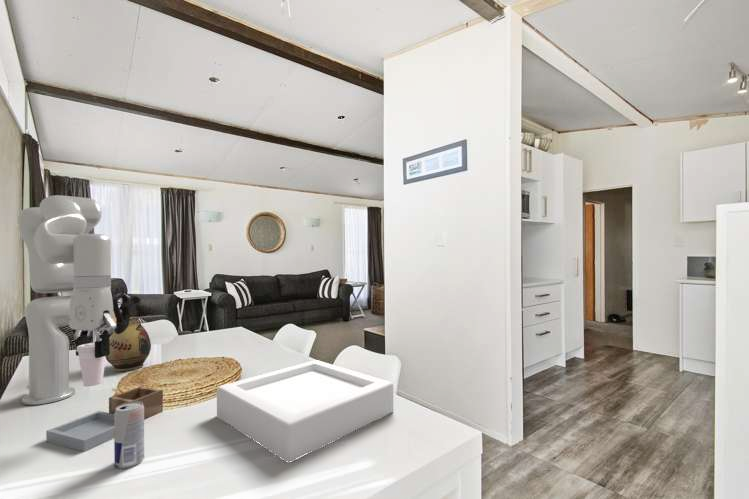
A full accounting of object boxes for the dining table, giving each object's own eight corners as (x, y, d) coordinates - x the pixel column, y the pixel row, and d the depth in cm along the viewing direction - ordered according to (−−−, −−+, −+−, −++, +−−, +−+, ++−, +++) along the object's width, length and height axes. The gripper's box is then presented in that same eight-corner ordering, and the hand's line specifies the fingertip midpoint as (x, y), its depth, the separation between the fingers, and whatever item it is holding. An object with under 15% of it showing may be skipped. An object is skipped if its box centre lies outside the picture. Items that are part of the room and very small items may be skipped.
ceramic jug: (126, 362, 155) (126, 290, 156) (159, 363, 153) (159, 290, 154) (89, 375, 139) (89, 295, 139) (126, 376, 136) (126, 295, 137)
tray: (215, 418, 102) (215, 386, 102) (316, 384, 128) (316, 359, 128) (288, 466, 78) (288, 424, 78) (394, 413, 104) (394, 382, 104)
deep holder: (108, 419, 100) (108, 397, 100) (140, 407, 109) (140, 386, 109) (132, 425, 97) (132, 402, 97) (162, 411, 105) (162, 390, 106)
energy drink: (123, 456, 82) (123, 401, 82) (149, 454, 82) (149, 400, 82) (108, 470, 77) (108, 412, 77) (135, 468, 77) (135, 410, 77)
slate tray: (46, 441, 89) (46, 430, 89) (98, 420, 100) (98, 410, 100) (84, 451, 84) (84, 440, 84) (135, 428, 95) (135, 418, 95)
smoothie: (91, 388, 88) (90, 329, 89) (69, 387, 89) (69, 329, 90) (115, 380, 94) (114, 325, 95) (94, 379, 96) (93, 324, 96)
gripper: (53, 284, 92) (53, 356, 92) (99, 284, 86) (100, 362, 86) (86, 282, 99) (86, 349, 99) (131, 282, 93) (131, 354, 93)
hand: (92, 354), depth 92 cm, fingers closed on smoothie, 6 cm apart
